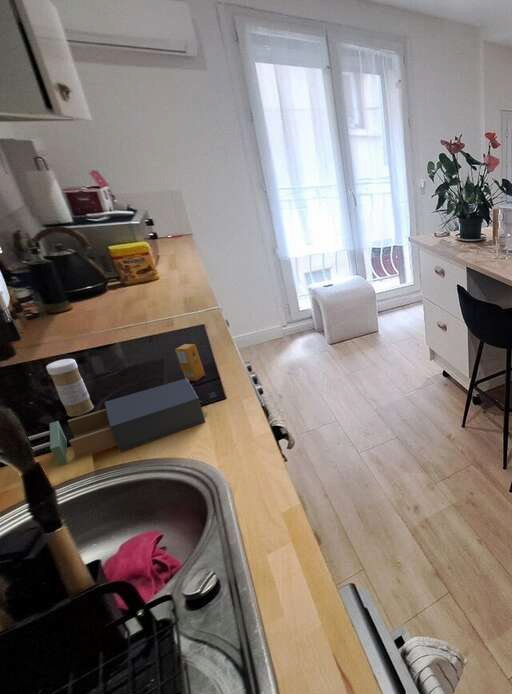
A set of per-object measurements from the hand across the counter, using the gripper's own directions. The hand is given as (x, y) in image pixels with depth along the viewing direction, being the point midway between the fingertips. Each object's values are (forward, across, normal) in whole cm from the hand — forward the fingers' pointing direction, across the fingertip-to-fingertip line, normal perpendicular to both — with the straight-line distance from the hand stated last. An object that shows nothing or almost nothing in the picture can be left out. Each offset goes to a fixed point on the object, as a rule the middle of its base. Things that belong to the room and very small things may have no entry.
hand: (8, 341), depth 78 cm
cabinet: (+25, +5, +16) cm, 30 cm away
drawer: (+24, +5, +4) cm, 25 cm away
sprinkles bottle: (+25, -14, +4) cm, 29 cm away
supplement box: (+25, -14, +26) cm, 39 cm away
